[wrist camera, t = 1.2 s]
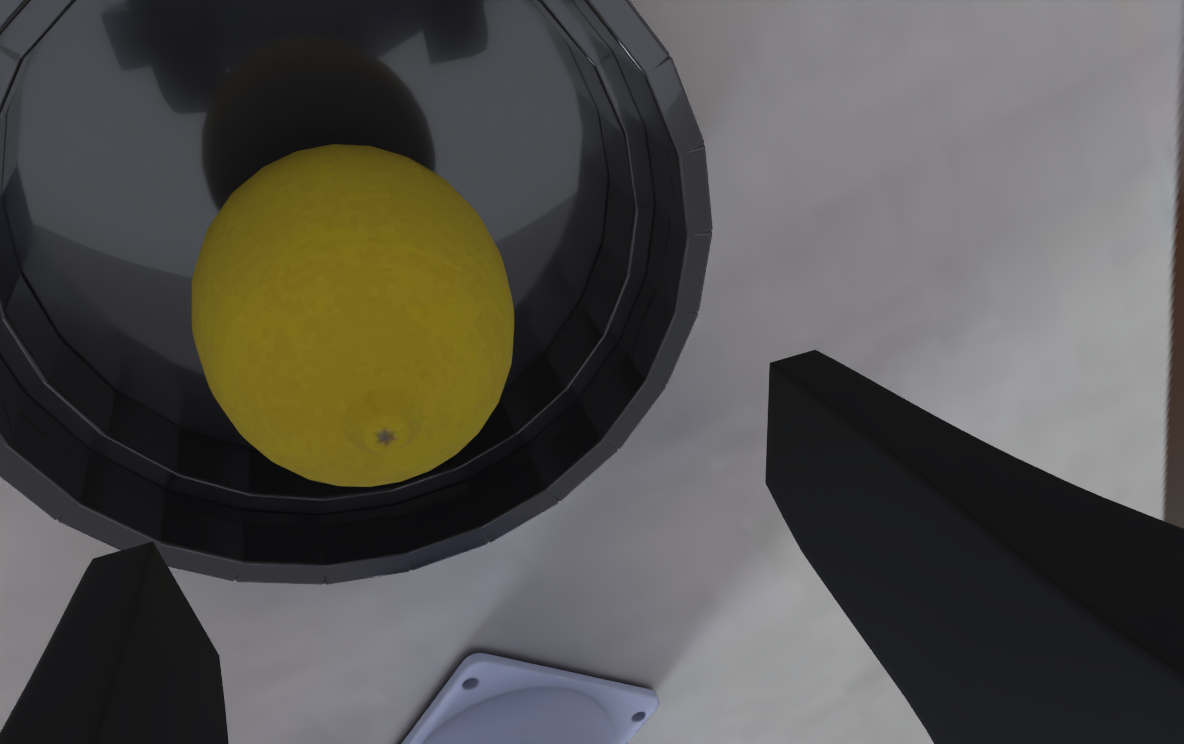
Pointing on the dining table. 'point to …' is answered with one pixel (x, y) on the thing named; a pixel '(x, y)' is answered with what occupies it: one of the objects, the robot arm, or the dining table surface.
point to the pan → (279, 128)
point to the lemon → (352, 315)
